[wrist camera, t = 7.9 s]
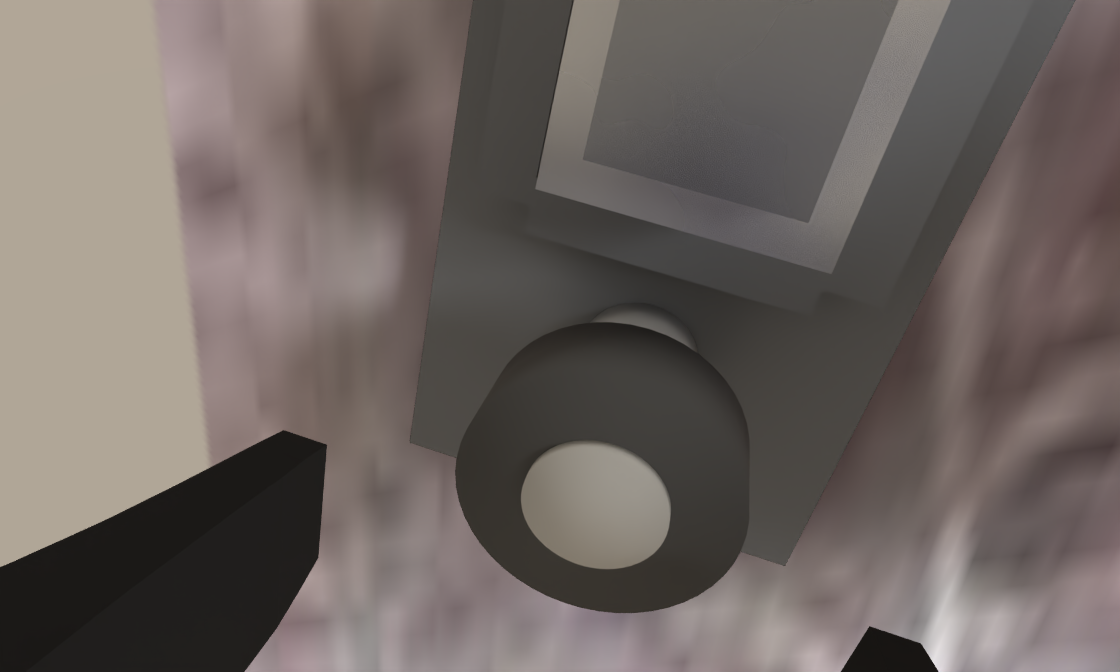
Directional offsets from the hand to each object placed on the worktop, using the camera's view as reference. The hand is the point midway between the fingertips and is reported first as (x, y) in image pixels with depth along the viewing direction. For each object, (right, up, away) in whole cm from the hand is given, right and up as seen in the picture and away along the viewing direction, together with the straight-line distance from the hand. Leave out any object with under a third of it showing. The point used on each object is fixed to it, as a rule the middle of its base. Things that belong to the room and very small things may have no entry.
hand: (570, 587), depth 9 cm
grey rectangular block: (+3, +8, +2) cm, 9 cm away
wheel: (+1, +1, +3) cm, 3 cm away
